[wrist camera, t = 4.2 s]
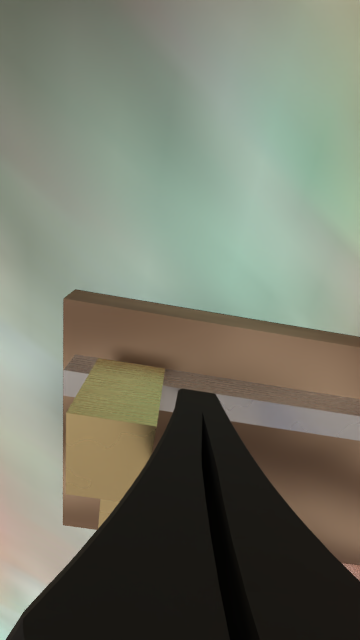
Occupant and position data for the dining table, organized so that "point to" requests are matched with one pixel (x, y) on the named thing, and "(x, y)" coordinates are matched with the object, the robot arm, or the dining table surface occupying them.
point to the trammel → (248, 401)
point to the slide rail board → (246, 365)
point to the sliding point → (111, 430)
